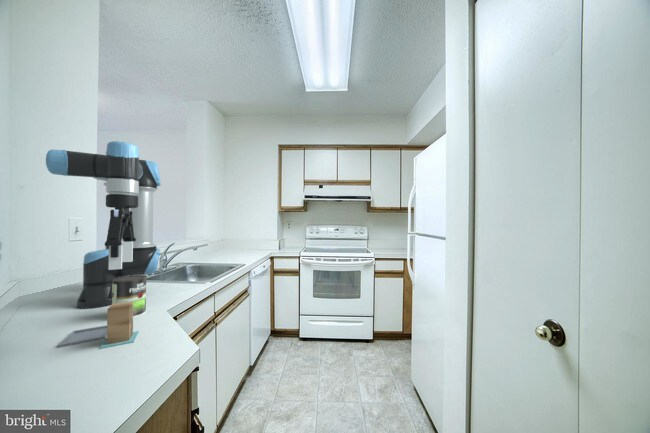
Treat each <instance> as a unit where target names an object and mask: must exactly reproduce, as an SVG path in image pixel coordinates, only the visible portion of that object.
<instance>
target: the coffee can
mask: <svg viewBox="0 0 650 433" xmlns="http://www.w3.org/2000/svg"><path fill="white" fill-rule="evenodd" d="M131 301H133V319H134V318H137V317H140V316H142V315H144V314H145V313H146V312H147V311H146V310H147V307H146V306H147V275H133V276H125V277H119V278H116V279H113V280H112V304H116V303H124V302H131ZM112 304H111V305H112Z"/></svg>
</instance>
